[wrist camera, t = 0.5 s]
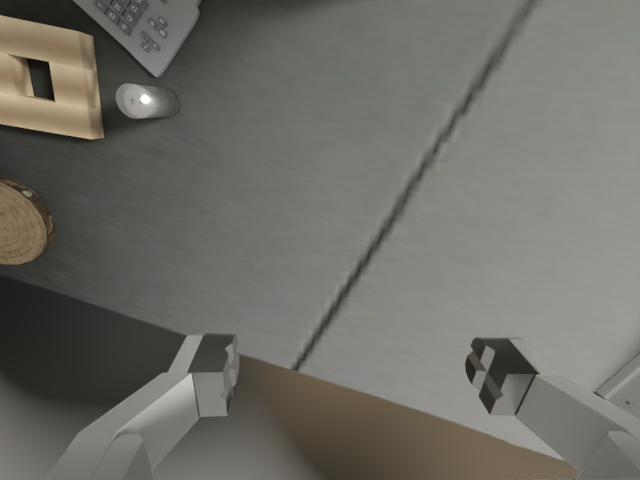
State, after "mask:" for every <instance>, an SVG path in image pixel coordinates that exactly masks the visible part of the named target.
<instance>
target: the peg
mask: <svg viewBox="0 0 640 480" xmlns="http://www.w3.org/2000/svg"><path fill="white" fill-rule="evenodd" d="M116 102H117V105H118V107H119V109H120V110H121V111H122V112H123V113H124V114H125V115H127V116H128V117H131V118H135V119H139V118H156V117H172V116H175V115H176V114H177V113H178V112H179V110H180V101H179V98H178V97H177V95H176V94H175V93H174V92H173V91H171V90H169V89H165V88H158V87H151V86H144V85H137V84H123V85H121V86H120V87H119V88H118V89H117V92H116Z"/></svg>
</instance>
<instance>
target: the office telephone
mask: <svg viewBox="0 0 640 480" xmlns="http://www.w3.org/2000/svg"><path fill="white" fill-rule="evenodd" d="M73 1H74V2H75V3H76V4H77V5H79V6H80V7H81V8H82V9H83V10H84V11H85V12H86V13H87V14H88V15H90V16H91V17H92V18H93V19H94V20H95V21H96V22H97V23H98V24H100V25H101V26H102V27H103V28H104V29H105V30H106V31H107V32H108V33H109V34H111V35H112V36H113V37H114V38H115V39H116V40H117V41H118V42H119V43H120V44H122V45H123V46H124V47H125V48H126V49H127V50H128V51H129V52H130V53H131V54H132V55H133V56H134V57H135V58H136V59H137V60H138V61H139V62H140V63H141V64H142V65H143V66H144V67H145V68H146V69H147V70H148V71H150V72H151V73H152V74H153V75H154V76H155V77H157V78H159V77H160V76H161V75H162V74H163V73H164V71H165V70H166V68H167V67H168V65H169V64H170V62H171V61H172V59H173V58H174V56H175V55H176V53H177V51H178V50H179V48H180V47H181V45H182V44H183V42H184V41H185V39H186V38H187V36H188V35H189V33H190V31H191V30H192V28H193V27H194V25H195V24H196V22H197V20H198V18H199V15H200V12H199V9H198V6H199V4H200V2H201V0H73Z"/></svg>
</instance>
